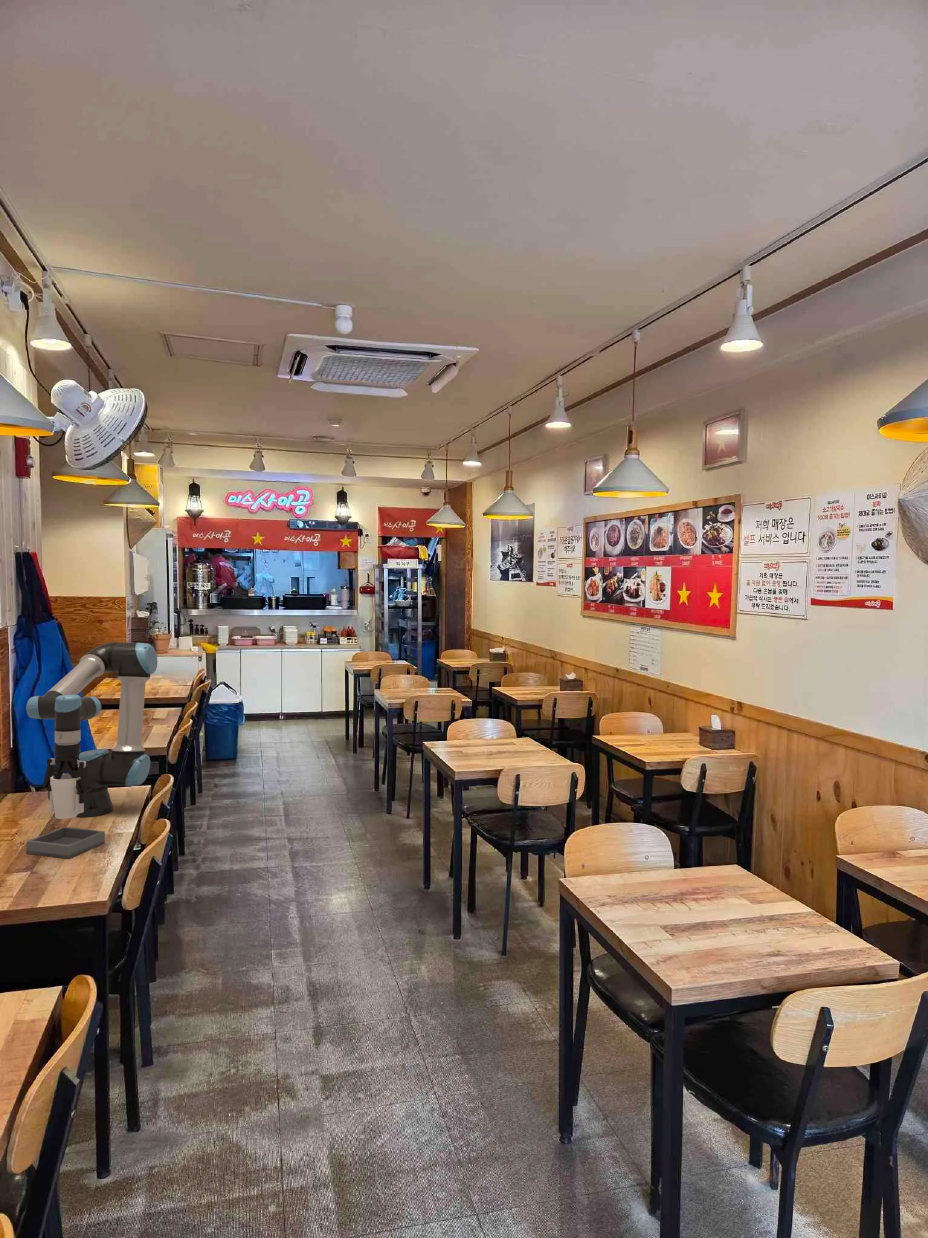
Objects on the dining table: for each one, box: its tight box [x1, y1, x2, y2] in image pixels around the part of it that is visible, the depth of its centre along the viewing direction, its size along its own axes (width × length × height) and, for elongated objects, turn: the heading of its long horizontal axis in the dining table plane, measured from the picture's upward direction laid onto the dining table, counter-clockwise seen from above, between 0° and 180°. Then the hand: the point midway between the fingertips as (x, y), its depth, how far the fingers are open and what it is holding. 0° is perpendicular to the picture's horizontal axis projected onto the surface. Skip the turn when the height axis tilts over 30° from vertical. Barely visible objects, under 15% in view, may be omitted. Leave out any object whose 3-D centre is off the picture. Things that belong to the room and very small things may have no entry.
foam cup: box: [50, 772, 81, 820], centre depth 247 cm, size 10×9×13 cm
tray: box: [25, 826, 106, 860], centre depth 248 cm, size 16×16×4 cm
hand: (66, 811), depth 247 cm, fingers closed on foam cup, 9 cm apart
